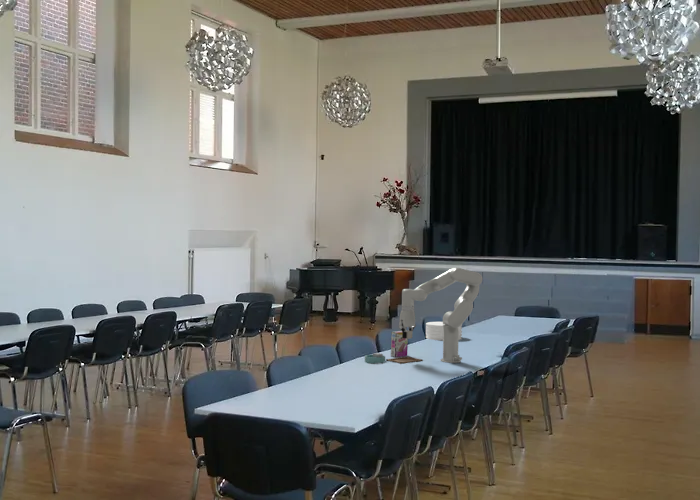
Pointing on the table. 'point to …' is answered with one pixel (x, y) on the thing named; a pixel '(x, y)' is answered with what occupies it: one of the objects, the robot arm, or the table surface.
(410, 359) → the tray
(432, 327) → the plate stack
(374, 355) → the light grey cube
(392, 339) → the candy bar box
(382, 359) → the bowl
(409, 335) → the beige square block
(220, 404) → the table surface
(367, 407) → the table surface
